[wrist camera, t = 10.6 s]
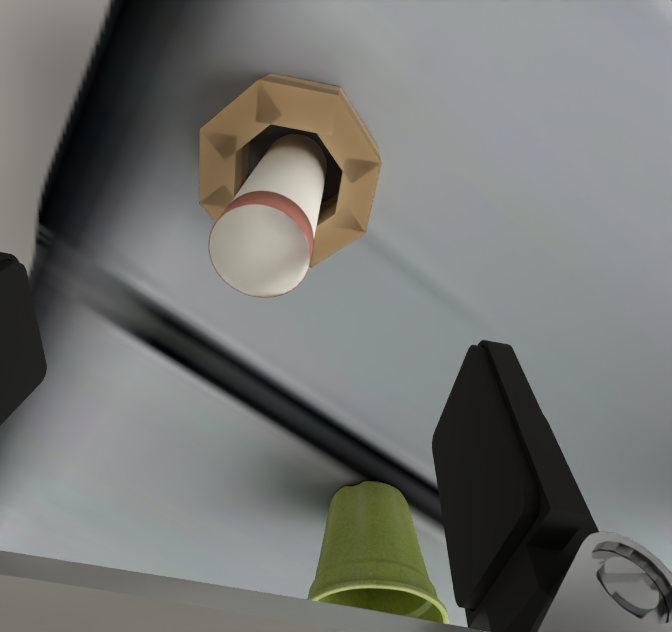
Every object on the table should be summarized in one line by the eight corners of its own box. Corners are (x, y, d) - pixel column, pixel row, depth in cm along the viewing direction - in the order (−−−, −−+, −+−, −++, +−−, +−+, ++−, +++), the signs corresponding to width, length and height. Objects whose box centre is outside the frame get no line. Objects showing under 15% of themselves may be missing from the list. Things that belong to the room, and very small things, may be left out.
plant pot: (331, 451, 33) (325, 573, 25) (449, 482, 34) (475, 606, 27) (295, 522, 38) (281, 642, 30) (400, 547, 39) (410, 667, 32)
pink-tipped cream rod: (332, 140, 21) (317, 214, 13) (322, 202, 23) (303, 304, 14) (267, 127, 21) (209, 195, 13) (262, 191, 23) (207, 288, 14)
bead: (389, 96, 20) (393, 106, 18) (356, 249, 24) (356, 275, 22) (220, 63, 20) (200, 68, 17) (215, 224, 24) (198, 248, 21)
